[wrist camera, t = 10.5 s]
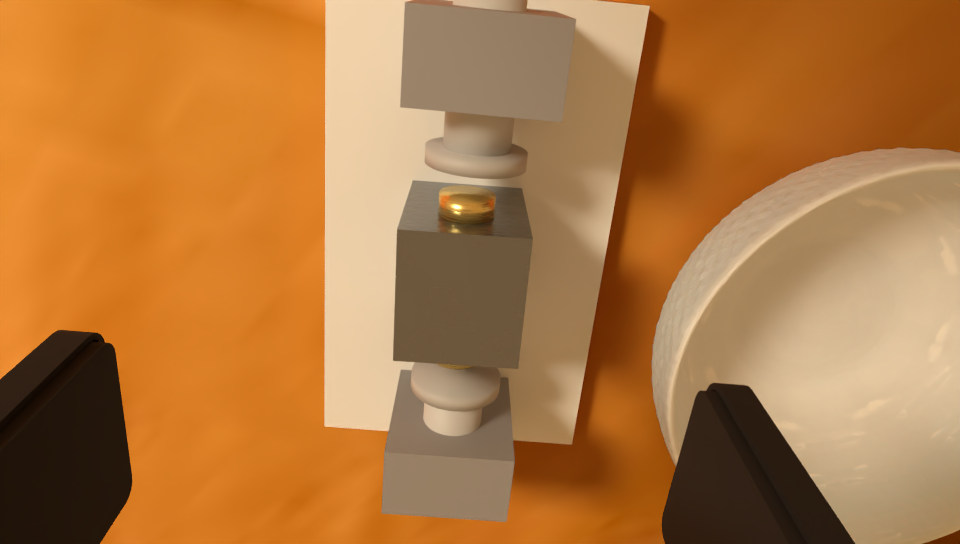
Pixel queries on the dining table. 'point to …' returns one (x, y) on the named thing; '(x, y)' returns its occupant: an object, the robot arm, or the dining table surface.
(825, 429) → the cereal bowl
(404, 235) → the joint block
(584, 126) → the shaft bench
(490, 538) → the dining table surface
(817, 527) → the robot arm
